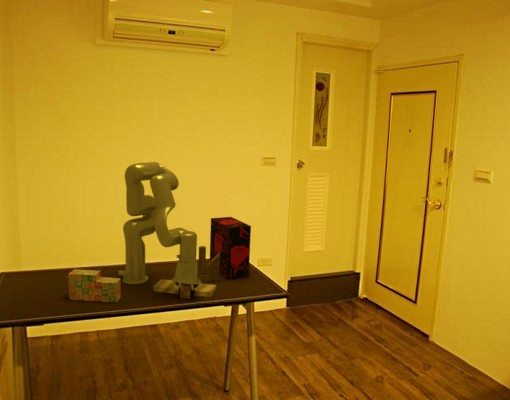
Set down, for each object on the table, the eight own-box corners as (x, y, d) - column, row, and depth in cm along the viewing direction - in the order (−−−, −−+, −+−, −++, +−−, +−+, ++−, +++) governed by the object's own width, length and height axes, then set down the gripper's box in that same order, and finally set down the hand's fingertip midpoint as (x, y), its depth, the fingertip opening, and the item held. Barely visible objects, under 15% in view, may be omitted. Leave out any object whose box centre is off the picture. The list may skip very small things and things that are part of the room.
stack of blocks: (121, 297, 202) (120, 271, 200) (115, 303, 196) (115, 276, 193) (75, 294, 203) (74, 268, 201) (68, 299, 197) (67, 273, 195)
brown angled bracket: (219, 281, 227) (220, 247, 224) (198, 282, 225) (198, 247, 222) (218, 279, 231) (219, 245, 228) (197, 279, 228) (198, 245, 225)
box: (209, 267, 249) (210, 218, 244) (229, 264, 255) (231, 216, 250) (227, 280, 229) (229, 227, 224) (248, 277, 235) (250, 225, 230)
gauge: (180, 297, 204) (180, 285, 203) (189, 287, 218) (190, 275, 217) (189, 299, 203) (189, 286, 202) (198, 288, 217) (198, 276, 216)
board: (153, 291, 211) (153, 286, 210) (161, 283, 220) (161, 279, 220) (210, 297, 206) (211, 292, 206) (216, 289, 216) (216, 285, 216)
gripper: (167, 258, 200) (166, 297, 203) (203, 263, 197) (201, 301, 201) (172, 254, 207) (171, 291, 211) (207, 258, 205) (206, 295, 208)
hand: (186, 295), depth 206 cm, fingers closed on gauge, 4 cm apart
